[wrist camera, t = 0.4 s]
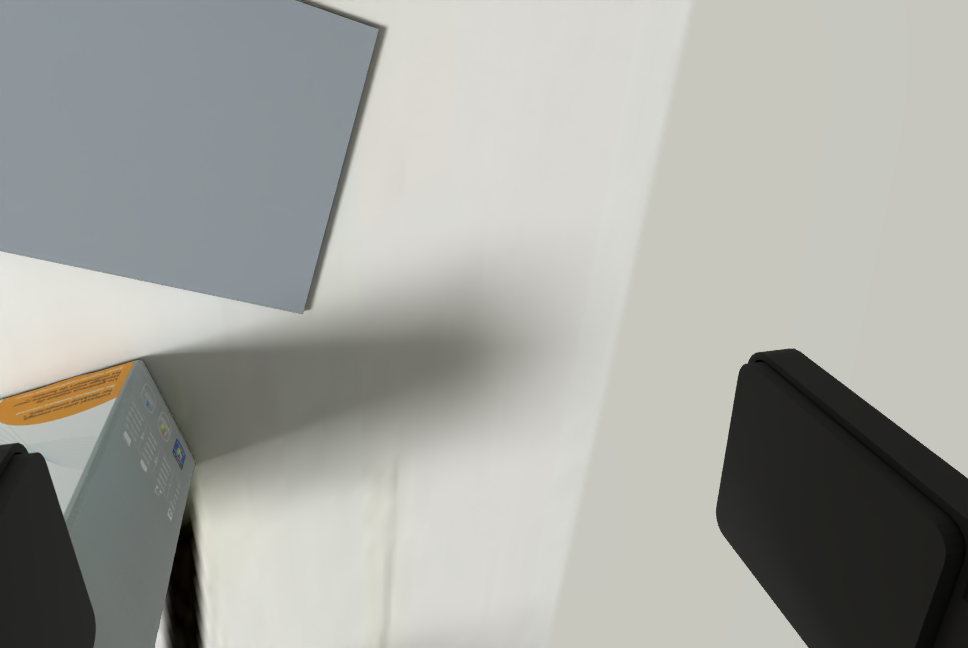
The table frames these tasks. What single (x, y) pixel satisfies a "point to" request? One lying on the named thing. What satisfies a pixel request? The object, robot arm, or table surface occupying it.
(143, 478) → the hard drive box
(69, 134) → the slate mat
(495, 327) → the table surface
